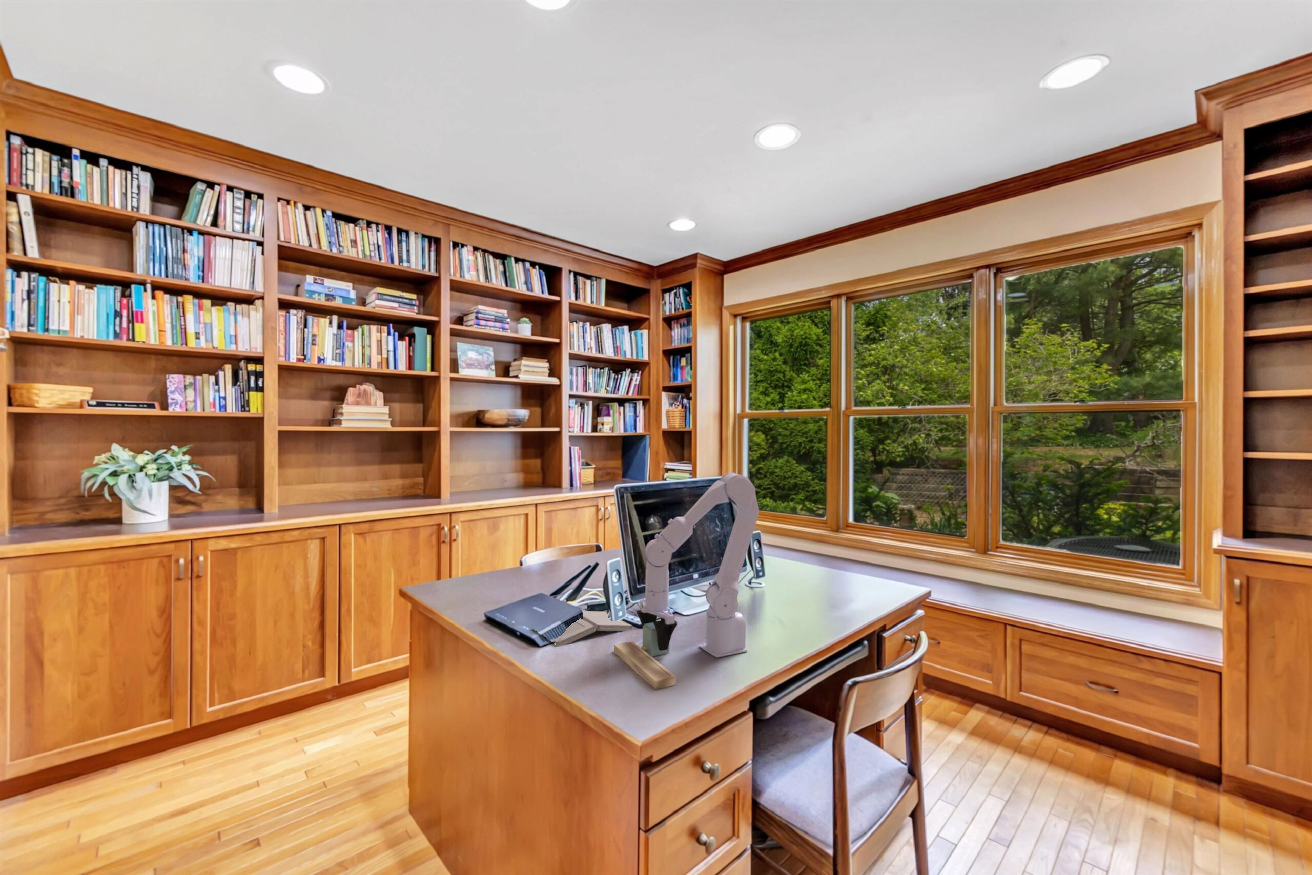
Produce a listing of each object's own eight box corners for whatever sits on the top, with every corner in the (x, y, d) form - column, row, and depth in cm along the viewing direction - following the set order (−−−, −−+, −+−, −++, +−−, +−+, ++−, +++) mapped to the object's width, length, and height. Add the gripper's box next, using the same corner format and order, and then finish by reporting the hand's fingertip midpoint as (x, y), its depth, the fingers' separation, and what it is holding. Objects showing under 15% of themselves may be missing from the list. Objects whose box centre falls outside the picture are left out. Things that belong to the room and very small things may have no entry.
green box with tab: (660, 646, 139) (660, 620, 139) (669, 653, 135) (669, 626, 135) (638, 650, 136) (638, 624, 136) (646, 657, 132) (646, 630, 132)
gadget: (604, 616, 163) (604, 603, 163) (632, 630, 151) (633, 617, 151) (532, 631, 149) (532, 618, 149) (557, 649, 137) (557, 634, 137)
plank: (632, 648, 137) (632, 640, 137) (675, 684, 118) (675, 676, 117) (613, 651, 135) (614, 644, 135) (654, 689, 115) (655, 680, 115)
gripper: (629, 583, 140) (628, 636, 140) (656, 599, 127) (654, 657, 127) (654, 580, 143) (653, 632, 143) (682, 595, 130) (681, 652, 131)
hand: (655, 644), depth 136 cm, fingers open, 7 cm apart
